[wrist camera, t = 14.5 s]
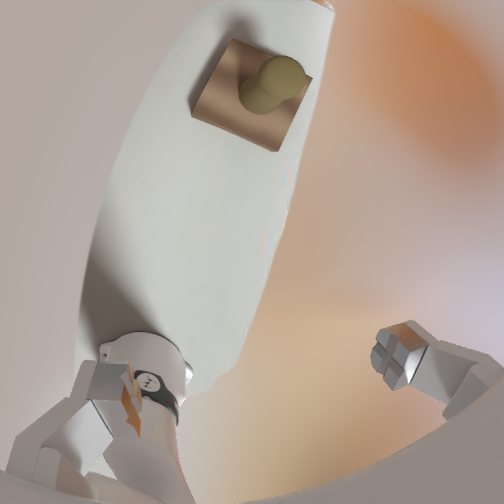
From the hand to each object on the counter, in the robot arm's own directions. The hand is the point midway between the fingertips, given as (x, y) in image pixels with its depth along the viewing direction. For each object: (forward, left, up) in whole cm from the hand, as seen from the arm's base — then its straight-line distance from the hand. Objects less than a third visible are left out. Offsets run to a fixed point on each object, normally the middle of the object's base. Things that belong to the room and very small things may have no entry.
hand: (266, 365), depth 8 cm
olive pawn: (+17, -1, -31) cm, 36 cm away
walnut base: (+17, 0, -34) cm, 38 cm away
